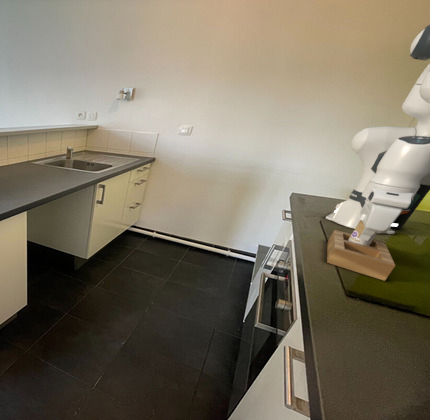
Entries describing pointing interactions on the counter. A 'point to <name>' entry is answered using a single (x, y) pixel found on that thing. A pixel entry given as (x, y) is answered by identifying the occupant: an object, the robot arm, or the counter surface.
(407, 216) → the wine bottle
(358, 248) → the hole block
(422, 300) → the counter surface
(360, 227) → the sprinkles bottle
